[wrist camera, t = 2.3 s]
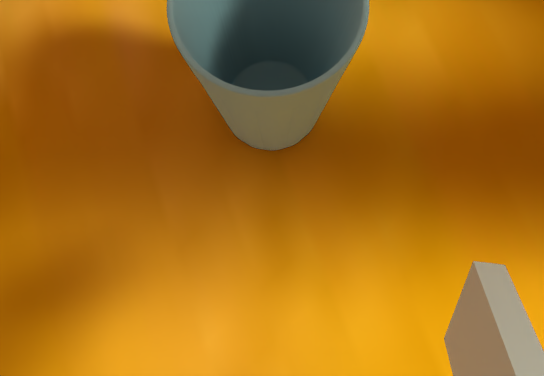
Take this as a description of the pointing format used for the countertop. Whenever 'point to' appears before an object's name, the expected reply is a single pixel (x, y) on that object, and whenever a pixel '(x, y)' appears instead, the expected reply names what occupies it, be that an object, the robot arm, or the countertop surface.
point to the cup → (268, 60)
